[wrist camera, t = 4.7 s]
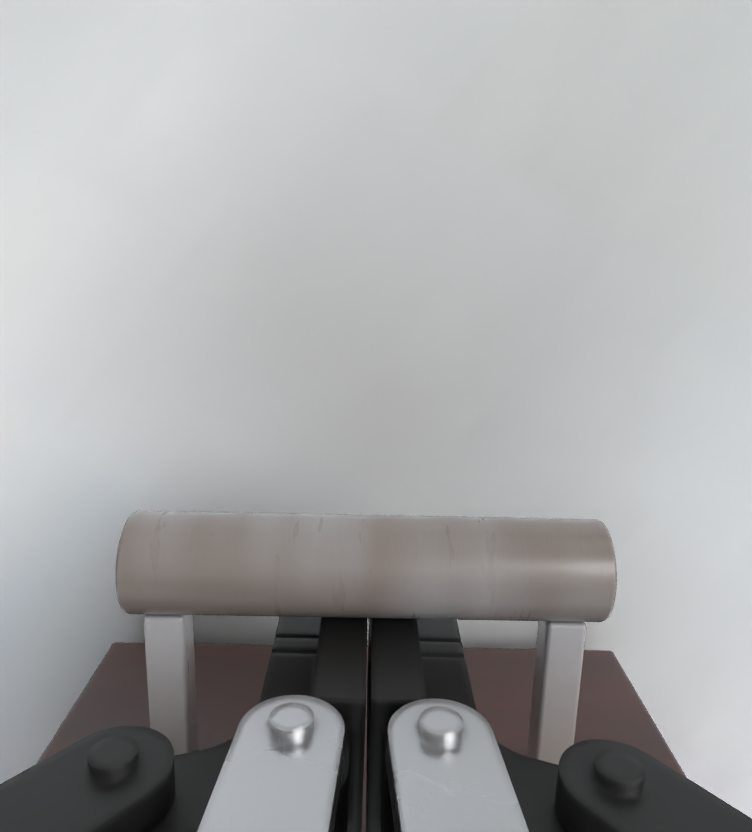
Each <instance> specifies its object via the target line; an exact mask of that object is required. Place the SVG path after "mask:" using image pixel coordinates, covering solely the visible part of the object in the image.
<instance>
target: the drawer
mask: <svg viewBox="0 0 752 832" xmlns="http://www.w3.org/2000/svg"><path fill="white" fill-rule="evenodd" d="M616 585H617V570H616V559H615V553H614V548H613V544H612V540H611V537H610V534H609V532H608V530H607V528H606V526H605V525H604V524H603V523H602V522H601V521H599V520H596V519H548V518H496V517H445V516H393V515H341V514H290V513H238V512H186V511H136V512H134V513H132V514H131V515H130V516H129V518H128V519H127V521H126V523H125V525H124V528H123V531H122V534H121V537H120V541H119V545H118V551H117V558H116V590H117V596H118V600H119V603H120V606H121V608H122V609H123V610H124V611H125V612H127V613H129V614H146V615H145V616H144V635H145V643H123V642H116V643H113V644H112V646H111V648H110V649H109V651H108V652H107V654H106V655H105V657H104V659H103V660H102V662H101V663H100V665H99V666H98V668H97V670H96V671H95V673H94V674H93V676H92V677H91V679H90V681H89V682H88V684H87V685H86V687H85V688H84V690H83V691H82V693H81V695H80V696H79V698H78V699H77V701H76V702H75V704H74V706H73V707H72V709H71V710H70V712H69V713H68V715H67V717H66V718H65V720H64V721H63V723H62V724H61V726H60V728H59V729H58V731H57V732H56V734H55V735H54V737H53V739H52V740H51V742H50V743H49V745H48V746H47V748H46V750H45V751H44V753H43V754H42V756H41V757H40V759H39V761H38V762H37V764H38V763H39V762H41V761H43V760H45V759H47V758H48V757H50V756H52V755H54V754H55V753H57V752H59V751H61V750H63V749H64V748H66V747H68V746H70V745H72V744H73V743H75V742H77V741H79V740H80V739H82V738H84V737H86V736H88V735H90V734H93V733H95V732H98V731H101V730H104V729H108V728H112V727H118V726H130V725H132V726H143V727H148V728H151V729H154V730H157V731H158V732H160V733H162V734H163V735H164V736H166V737H167V738H168V739H169V741H170V742H171V744H172V747H173V750H174V756H175V755H180V754H184V753H189V752H194V751H199V750H203V749H207V748H211V747H214V746H217V745H219V744H222V743H224V742H226V741H228V740H230V739H232V738H234V736H235V733H236V730H237V728H238V725H239V723H240V721H241V719H242V718H243V716H244V715H245V714H246V713H247V712H248V711H249V710H250V709H251V708H253V707H254V706H256V705H257V704H259V701H260V697H261V692H262V688H263V684H264V680H265V676H266V672H267V668H268V664H269V660H270V656H271V653H272V647H273V645H242V644H194V632H193V615H230V616H287V617H345V618H402V619H460V620H517V621H538V632H537V643H536V649H480V648H463V652H464V658H465V661H466V665H467V670H468V674H469V678H470V683H471V687H472V692H473V696H474V701H475V705H476V709H477V712H478V713H480V714H481V715H482V716H483V717H484V718H485V719H486V720H487V721H488V723H489V724H490V726H491V728H492V730H493V733H494V735H495V738H496V741H497V742H499V743H500V744H501V745H503V746H505V747H506V748H508V749H510V750H512V751H514V752H517V753H519V754H521V755H524V756H527V757H531V758H534V759H538V760H542V761H546V762H549V763H553V764H557V765H559V761H560V758H561V755H562V754H563V753H564V751H565V750H566V749H567V748H568V747H570V746H571V745H573V744H575V743H577V742H581V741H584V740H591V739H605V740H613V741H617V742H622V743H625V744H628V745H631V746H633V747H635V748H638V749H640V750H642V751H644V752H645V753H647V754H649V755H651V756H652V757H654V758H655V759H657V760H659V761H660V762H662V763H663V764H665V765H667V766H668V767H670V768H671V769H673V770H675V771H676V772H678V773H679V774H681V775H683V776H684V777H686V776H685V774H684V772H683V771H682V769H681V767H680V766H679V764H678V762H677V761H676V759H675V757H674V755H673V754H672V752H671V750H670V749H669V747H668V745H667V744H666V742H665V740H664V738H663V737H662V735H661V733H660V732H659V730H658V728H657V727H656V725H655V723H654V721H653V720H652V718H651V716H650V715H649V713H648V711H647V710H646V708H645V706H644V704H643V703H642V701H641V699H640V698H639V696H638V694H637V693H636V691H635V689H634V687H633V686H632V684H631V682H630V681H629V679H628V677H627V676H626V674H625V672H624V670H623V669H622V667H621V665H620V664H619V662H618V660H617V659H616V657H615V655H614V653H613V652H612V651H599V650H584V643H585V634H586V625H585V623H584V622H602V621H604V620H606V619H607V618H608V617H609V616H610V614H611V612H612V609H613V606H614V601H615V595H616ZM367 674H368V647H367V670H366V718H365V745H364V773H363V801H362V828H361V832H366V761H367Z"/></svg>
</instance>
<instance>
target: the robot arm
mask: <svg viewBox="0 0 752 832" xmlns="http://www.w3.org/2000/svg"><path fill="white" fill-rule="evenodd" d="M366 670H367V618H345V617H287V616H280V619H279V623H278V627H277V631H276V638H275V639H274V643H273V647H272V653H271V656H270V660H269V664H268V668H267V672H266V676H265V680H264V684H263V688H262V692H261V697H260V701H259V704H257V705H256V706H254V707H253V708H251V709H250V710H249V711H248V712H247V713H246V714H245V715H244V716H243V718H242V719H241V721H240V723H239V725H238V728H237V730H236V733H235V736H234V738H232V739H230V740H228V741H226V742H224V743H222V744H219V745H217V746H214V747H211V748H207V749H203V750H199V751H194V752H189V753H184V754H180V755H175V756H174V750H173V747H172V744H171V742H170V741H169V739H168V738H167V737H166V736H164V735H163V734H162V733H160V732H158V731H157V730H154V729H151V728H148V727H143V726H132V725H130V726H118V727H112V728H108V729H104V730H101V731H98V732H95V733H93V734H90V735H88V736H86V737H84V738H82V739H80V740H79V741H77V742H75V743H73V744H72V745H70V746H68V747H66V748H64V749H63V750H61V751H59V752H57V753H55V754H54V755H52V756H50V757H48V758H47V759H45V760H43V761H41V762H39V763H38V764H36V765H34V766H32V767H31V768H29V769H27V770H25V771H23V772H22V773H20V774H18V775H16V776H14V777H13V778H11V779H9V780H7V781H6V782H4V783H2V784H0V832H361V828H362V801H363V773H364V745H365V718H366ZM366 832H752V819H751V818H750V817H748V816H747V815H745V814H743V813H742V812H740V811H739V810H737V809H735V808H734V807H732V806H731V805H729V804H727V803H726V802H724V801H723V800H721V799H719V798H718V797H716V796H715V795H713V794H711V793H710V792H708V791H707V790H705V789H703V788H702V787H700V786H699V785H697V784H695V783H694V782H692V781H691V780H689V779H687V778H686V777H684V776H683V775H681V774H679V773H678V772H676V771H675V770H673V769H671V768H670V767H668V766H667V765H665V764H663V763H662V762H660V761H659V760H657V759H655V758H654V757H652V756H651V755H649V754H647V753H645V752H644V751H642V750H640V749H638V748H635V747H633V746H631V745H628V744H625V743H622V742H617V741H613V740H605V739H591V740H584V741H581V742H577V743H575V744H573V745H571V746H570V747H568V748H567V749H566V750H565V751H564V753H563V754H562V755H561V758H560V761H559V765H557V764H553V763H549V762H546V761H542V760H538V759H534V758H531V757H527V756H524V755H521V754H519V753H517V752H514V751H512V750H510V749H508V748H506V747H505V746H503V745H501V744H500V743H499V742H497V741H496V738H495V735H494V733H493V730H492V728H491V726H490V724H489V723H488V721H487V720H486V719H485V718H484V717H483V716H482V715H481V714H480V713H478V712H477V709H476V705H475V701H474V696H473V692H472V687H471V683H470V678H469V674H468V670H467V665H466V661H465V658H464V652H463V647H462V643H461V638H460V634H459V630H458V625H457V621H456V620H455V619H402V618H369V643H368V674H367V761H366Z"/></svg>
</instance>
